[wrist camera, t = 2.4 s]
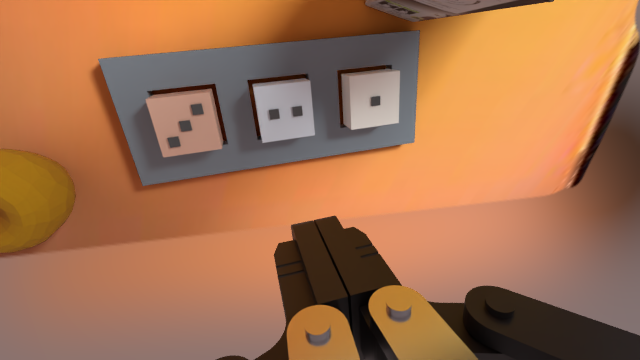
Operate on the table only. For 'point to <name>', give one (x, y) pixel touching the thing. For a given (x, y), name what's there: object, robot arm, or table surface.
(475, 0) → the coffee box
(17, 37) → the table surface
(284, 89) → the tile two
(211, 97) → the tile three
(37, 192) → the apple
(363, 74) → the tile one
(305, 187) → the table surface
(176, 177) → the button board
